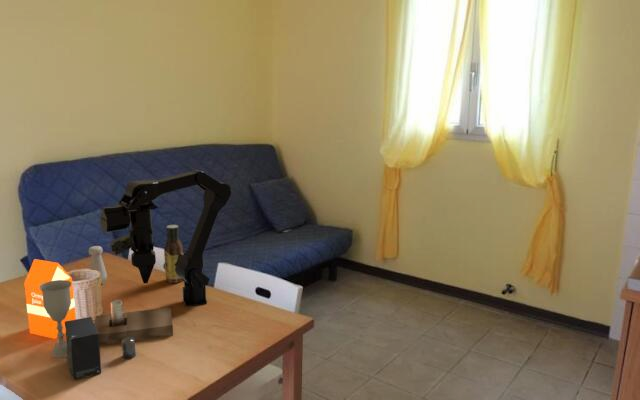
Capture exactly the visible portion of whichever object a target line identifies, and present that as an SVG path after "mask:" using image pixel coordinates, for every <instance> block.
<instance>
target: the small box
mask: <svg viewBox="0 0 640 400" xmlns="http://www.w3.org/2000/svg"><path fill="white" fill-rule="evenodd" d="M94 323H95V321H94V320H93V318H92V316H89V317H88V316H87V317H82V318H78V319H77V318H76V320H70V321H65V330H66V333H65V341H66V342H67V356H66V357H67V359H66V360H67V363H68V367H69V372H70V375H71V377H72V378H71V379H72V380H73V381H76V380H81V379H84V378H87V377H88V378H89V377H92V376H95V375H99V374H102V366H101V365H102V362H101V348H100V347H101V345H99V333H98V331H97V329H96V326H95V324H94Z"/></svg>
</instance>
